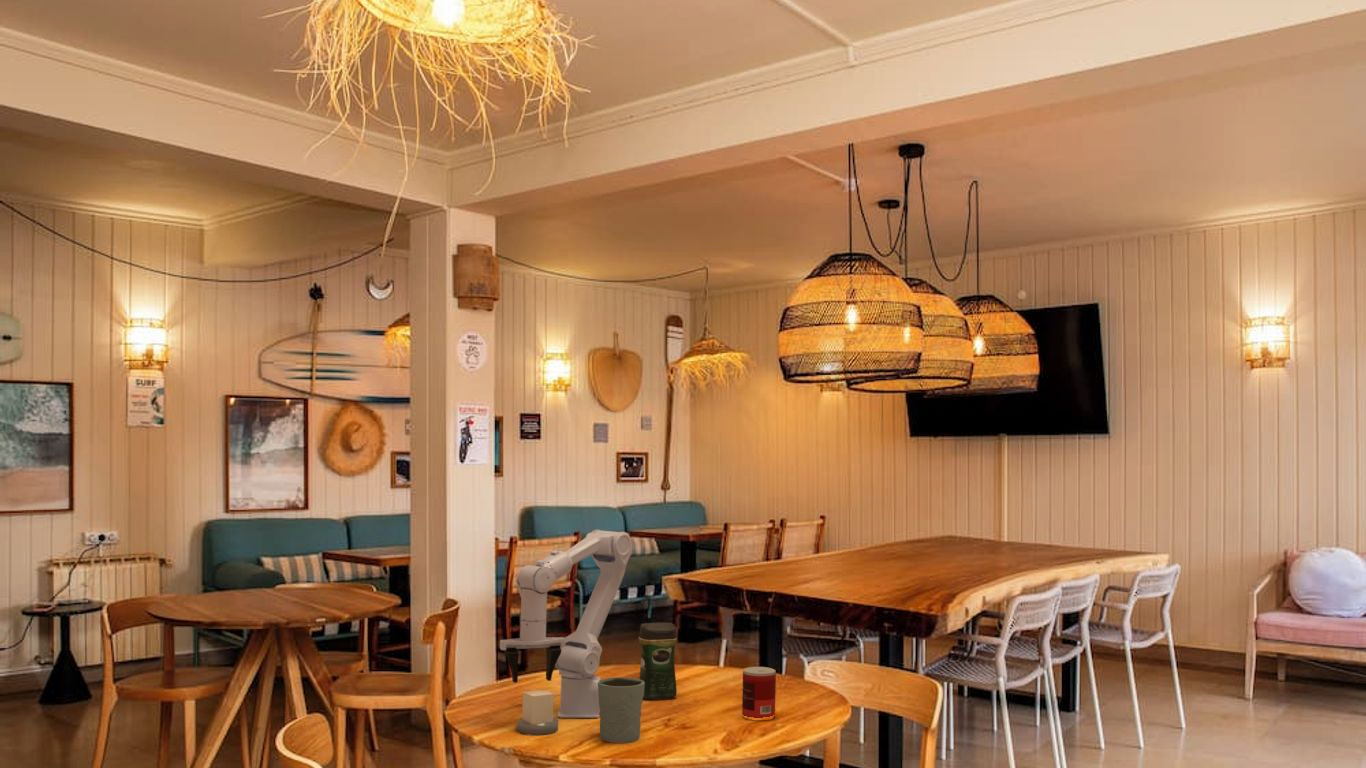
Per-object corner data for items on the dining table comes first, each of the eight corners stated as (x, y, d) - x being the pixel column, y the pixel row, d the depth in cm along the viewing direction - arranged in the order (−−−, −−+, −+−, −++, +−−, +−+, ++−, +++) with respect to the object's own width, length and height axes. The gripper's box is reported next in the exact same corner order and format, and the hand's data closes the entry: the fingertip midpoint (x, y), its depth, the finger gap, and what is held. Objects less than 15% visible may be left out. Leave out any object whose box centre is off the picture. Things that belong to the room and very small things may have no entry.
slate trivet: (558, 724, 239) (559, 715, 239) (557, 735, 230) (557, 725, 230) (518, 724, 239) (518, 715, 239) (515, 735, 230) (515, 725, 230)
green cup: (605, 745, 223) (606, 687, 224) (589, 733, 232) (591, 678, 233) (650, 741, 227) (651, 684, 228) (633, 729, 237) (634, 675, 237)
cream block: (542, 716, 238) (543, 689, 239) (552, 721, 234) (553, 693, 235) (522, 719, 235) (523, 691, 236) (532, 724, 231) (533, 696, 232)
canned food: (779, 715, 252) (780, 668, 253) (767, 723, 245) (768, 674, 246) (749, 711, 255) (750, 665, 256) (737, 718, 248) (738, 671, 249)
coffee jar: (670, 692, 274) (672, 619, 275) (679, 699, 266) (681, 624, 267) (634, 694, 271) (636, 620, 272) (641, 701, 263) (643, 625, 264)
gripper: (560, 615, 246) (558, 675, 245) (498, 618, 241) (496, 678, 240) (568, 620, 239) (566, 681, 238) (504, 623, 234) (502, 685, 233)
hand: (531, 680), depth 239 cm, fingers open, 7 cm apart
